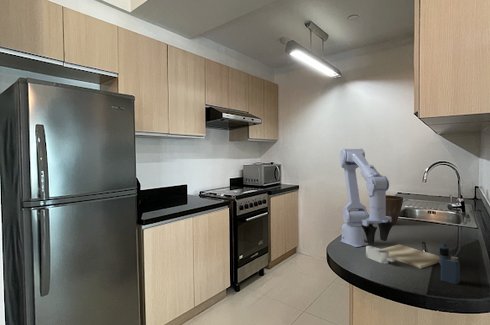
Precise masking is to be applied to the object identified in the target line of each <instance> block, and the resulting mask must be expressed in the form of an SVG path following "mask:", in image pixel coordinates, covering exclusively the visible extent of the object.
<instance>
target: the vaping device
mask: <svg viewBox="0 0 490 325" xmlns="http://www.w3.org/2000/svg"><path fill="white" fill-rule="evenodd" d="M449 249H450V247H449V246H448V245H447V243H446V242H442V244H441V245H439V256H440V257H439V258H440V261H439V266H440V281H441V282H445V283H449V284H454V285H459V283H460V279H461V278H460V276H461V274H460V273H461V272H460V271H461V264H460V261H459V257H458V256H456V255H454V256H453V255H450V252H449V251H450V250H449ZM449 256H450V257H449Z"/></svg>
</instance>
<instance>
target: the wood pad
mask: <svg viewBox="0 0 490 325" xmlns="http://www.w3.org/2000/svg"><path fill="white" fill-rule="evenodd" d="M381 249H382V250H385V251H388V252H389V257H391V258H394V259H395V261H398V262H401V263H404V264H406V265H410V266H412V267H415V268H418V269H424V268H426V267H429V266H433V265H436V264H438V263H439V261H440V258H439V257H440V255H437V254H433V253H430V252H427V251H424V250H420V249H416V248H413V247H410V246H406V245H403V244H396V245H392V246H388V247H384V248H381ZM439 264H440V263H439Z"/></svg>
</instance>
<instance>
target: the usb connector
mask: <svg viewBox="0 0 490 325" xmlns="http://www.w3.org/2000/svg"><path fill="white" fill-rule="evenodd" d="M382 249H383V248H378V247H375V246H374V245H373V246H372V245H365V257H366V258H367V259H370V260H373V261H374V262H377V263H380V264H384V265H388V264H389V263H394V262H396V260H395V259H394V258H391V257H389V252H388V251H385V250H382Z"/></svg>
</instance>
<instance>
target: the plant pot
mask: <svg viewBox="0 0 490 325" xmlns="http://www.w3.org/2000/svg"><path fill="white" fill-rule="evenodd" d="M403 202H404V197H402V196H397V195H391V194H390V195H388V194H386V216H389V217H391V222H389V223H393V226H395V225H396V224H397V222H398V220H399V217H400V214H401V210H402V207H403ZM394 224H395V225H394Z"/></svg>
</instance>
